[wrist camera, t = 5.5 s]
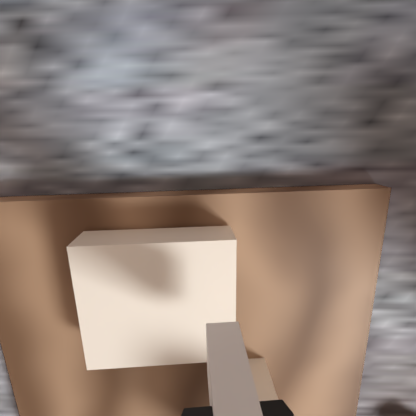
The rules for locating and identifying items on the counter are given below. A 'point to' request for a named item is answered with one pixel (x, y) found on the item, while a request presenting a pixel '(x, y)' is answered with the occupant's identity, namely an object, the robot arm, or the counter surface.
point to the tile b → (262, 379)
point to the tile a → (151, 293)
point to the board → (245, 295)
